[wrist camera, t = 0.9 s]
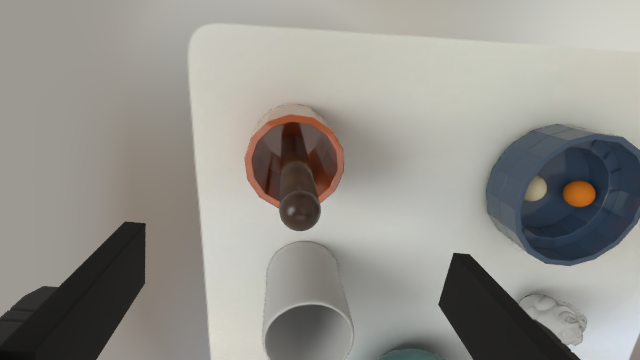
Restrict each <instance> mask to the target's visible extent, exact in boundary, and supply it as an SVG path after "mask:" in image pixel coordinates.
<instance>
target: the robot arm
mask: <svg viewBox="0 0 640 360" xmlns="http://www.w3.org/2000/svg"><path fill="white" fill-rule="evenodd" d="M145 226H146V224H145V223H135V222H124V223H123V224H122V225H121V226H120V227H119V228H118V229H117V230H116V231H115V232H114V233H113V234H112V235H111V236H110V237H109V238H108V239H107V240H106V241H105V242H104V243H103V244H102V245H101V246H100V247H99V248H98V249H97V250H96V251H95V252H94V253H93V254H92V255H91V256H90V257H89V258H88V259H87V260H86V261H85V262H84V263H83V264H82V265H81V266H80V267H79V268H78V269H77V270H76V271H75V272H74V273H73V274H72V275H71V276H70V277H69V278H68V279H67V280H66V281H64V283H62V284H61V286H59V287H48V286H43V287H41V288H39V289H37V290H35V291H33V292H31V293H29V294H27V295H25V296H24V297H23V298H22V299H21V300H19V301H18V302H17V303H16V304H15V305H14V306H13V307H12V308H11V309H10V311H7V312H6V313H5V314H4V315H3V316H1V317H0V360H96V359H97V358H98V356H99V355H100V353H101V351H102V350H103V348H104V347H105V345H106V344H107V342H108V340H109V339H110V337H111V336H112V334H113V333H114V331H115V329H116V328H117V326H118V325H119V323H120V322H121V320H122V318H123V317H124V315H125V314H126V312H127V310H128V309H129V307H130V306H131V304H132V303H133V301H134V299H135V298H136V296H137V295H138V293H139V292H140V290H141V289H142V287H143V285H144V284H145ZM438 305H439V307H440V308H441V310H442V311H443V313H444V314H445V316H446V318H447V319H448V321H449V322H450V324H451V325H452V327H453V328H454V330H455V332H456V333H457V335H458V336H459V338H460V339H461V341H462V342H463V344H464V346H465V347H466V349H467V350H468V352H469V353H470V355H471V356H472V358H473V360H580V359H579V358H578V357H577V356H576V355H575V354H574V353H573V352H571V350H570V349H569V348H568V347H567V346H566V345H565V344H564V343H562V341H561V340H560V339H559V338H558V337H557V336H556V335H555V334H554V333H553V332H552V331H551V330H550V329H549V328H547V327H546V326H544V325H543V324H541V323H540V322H538V321H537V320H536V319H532V318H531V317H530V316H529V315H528V314H527V313H526V312H525V311H524V310H523V309H522V308H521V307H520V306H519V304H518V303H517V302H516V301H515V300H514V299H513V298H512V297H511V296H510V295H509V294H508V293H507V292H506V291H505V290H504V289H503V288H502V287H501V286H500V285H499V284H498V283H497V282H496V281H495V280H494V279H493V278H492V277H491V276H490V275H489V274H488V273H487V272H486V271H485V270H484V269H483V268H482V267H481V266H480V265H479V264H478V263H477V262H476V260H475V259H474V258H473V257H472V256H471V255H470V254H460V253H453V257H452V260H451V264H450V267H449V270H448V274H447V277H446V280H445V284H444V287H443V291H442V294H441V297H440V301H439V304H438Z"/></svg>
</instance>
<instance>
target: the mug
mask: <svg viewBox="0 0 640 360" xmlns="http://www.w3.org/2000/svg"><path fill="white" fill-rule="evenodd" d="M353 342H354V327H353V323H352V319H351V315H350V311H349V307H348V304H347V300H346V296H345V292H344V288H343V285H342V281H341V276H340V272H339V267H338V264H337V262H336V259H335V258H334V256H333V255H332V253H331V252H330V251H329V250H328V249H326V248H325V247H323V246H321V245H319V244H317V243H313V242H306V241H303V242H295V243H291V244H289V245H286V246H285V247H283V248H281V249H280V250H279V251H278V252H276V253H275V255H274V256H273V257H272V259H271V260H270V262H269V265H268V268H267V273H266V291H265V303H264V316H263V328H262V345H263V350H264V353H265V355H266V357H267V358H268V360H344V359H345V358H346V357H347V355H348V354H349V352H350V351H351V348H352V346H353Z"/></svg>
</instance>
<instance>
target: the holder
mask: <svg viewBox="0 0 640 360" xmlns="http://www.w3.org/2000/svg"><path fill="white" fill-rule="evenodd" d="M292 135H295V136H298V137H300V138H301V139H302V140H303V141H304V143H305V147H306V151H307V155H308V159H309V163H310V167H311V170H312V174H313V178H314V182H315V186H316V190H317V194H318V198H319V202H320V203H321V202H323V201H324V200H325V199H326V198H327V197H328V196H329V195H330V194H332V193H333V192H334V191H335V189H336V188H337V186H338V183H339V181H340V179H341V176H342V174H343V172H344V160H343V148H342V146H341V145H340V143H339V141H338V139H337V138H336V136H335V134H334V132H333V131H332V129H331V128H330V126H329V125H328V123H327V122H326V121H325V119H324V118H323V117H322V116H321V115H319V114H318V113H317V112H315V111H314V110H312V109H311V108H309V107H307V106H303V105H298V104H287V105H282V106H279V107H276V108H274V109H272V110H270V111H269V112H268V113H267V114H266V115H265V116H264V117H263V118H262V119H261V120H260V121H259V122H258V124H257V126H256V128H255V130H254V133H253V135H252V137H251V140H250V143H249V146H248V149H247V152H246V155H245V166H246V173H247V179H248V181H249V183H250V184H251V186H252V187H253V188H254V190H255V191H256V193H257V194H258V196H259V197H260V198H262V199H263V200H265V201H267V202H269V203H270V204H272V205H274V206H276V207H277V208H279V205H280V173H281V145H282V142H283V141H284V139H285V138H287V137H288V136H292Z"/></svg>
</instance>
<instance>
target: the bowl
mask: <svg viewBox="0 0 640 360" xmlns="http://www.w3.org/2000/svg"><path fill="white" fill-rule="evenodd" d="M536 175H538V176H540V177H541V178H542V179H543V180H544V181H545V182H546V185H547V191H546V193H545V195H544V196H543V197H542V198H541V199H539V200H537V201H526V200H524V197H525V194H526V191H527V188H528V185H529V184H530V182H531V181H532V180H533V179H534V177H535V176H536ZM578 180H579V181H585V182H588V183H589V184H591V185H592V186H593V188H594V189H595V193H596V196H595V199H594V201H593V202H592V203H591V204H589V205H587V206H584V207H575V206H572V205H570V204H568V203H567V202H566V201H565V200H564V198H563V189H564V187H565V186H566V185H567V184H568V183H570V182H573V181H578ZM486 197H487V208H488V214H489V216H490V217H491V219H492V220H493V222H494V224H495V225H496V227H497V229H498V230H499V231H500V232H502V233H503V234H504V235H505V236H507V237H508V238H509V239H511V240H512V241H513V242H514V243H516V244H517V245H518V246H519V247H521V248H522V249H523V250H524V251H526V252H527V253H529V254H530V255H532V256H534V257H535V258H537V259H539V260H540V261H542V262H544V263H546V264H555V265H565V266H571V265H575V264H579V263H583V262H586V261H590V260H594V259H596V258H597V257H599V256H601V255H602V254H604V253H605V252H607V251H609V250H610V249H612V248H613V247H615V246H616V245H618V244H619V243H620V242H621V241H622V240H623V238H624V237H625V236H626V235H627V234H628V233H629V232H630V231H631V230H632V228H633V227H634V226H635V225H636V224H637V222H638V220H639V218H640V150H639V149H638V148H636V147H635V146H634V145H632V144H631V143H630V142H628V141H627V140H626V139H625V138H623V137H620V136H615V135H611V134H606V133H602V132H597V131H593V130H588V129H584V128H579V127H573V126H566V125H560V124H555V125H551V126H548V127H544V128H540V129H536V130H533V131H531V132H529V133H528V134H526V135H525V136H523V137H522V138H520V139H519V140H518V141H516V142H515V143H513V144H512V145H510V146H509V147H508V148H507V150H506V151H505V152H504V154H503V155H502V156H501V158H500V159H499V160H498V162H497V163H496V164H495V166H494V168H493V170H492V173H491V176H490V179H489V183H488V186H487V189H486Z"/></svg>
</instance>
